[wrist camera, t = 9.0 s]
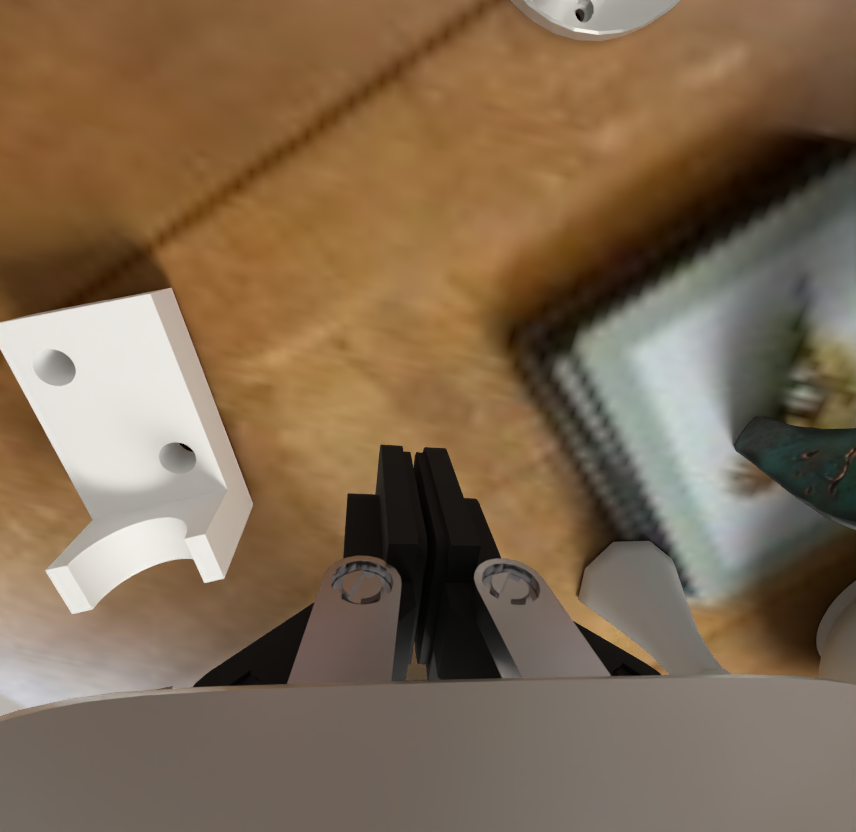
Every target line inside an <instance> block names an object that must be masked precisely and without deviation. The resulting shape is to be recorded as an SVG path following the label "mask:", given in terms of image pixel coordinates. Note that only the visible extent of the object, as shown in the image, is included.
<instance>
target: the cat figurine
mask: <svg viewBox="0 0 856 832" xmlns="http://www.w3.org/2000/svg"><path fill="white" fill-rule="evenodd" d="M735 450H736V451H737V452H738V453H740V454H741V455H743V456H744V457H745V458H747V459H748V460H749V461H751V462H752V463H753V464H754V465H756V466H757V467H758V468H759V469H760V470H762V471H763V472H764V473H766V474H767V475H768V476H770V477H771V478H772V479H773V480H775V481H776V482H777V483H778V484H780V485H781V486H782V487H783V488H784V489H786V490H787V491H788V492H790V493H791V494H792V495H794V496H795V497H797V498H798V499H799V500H801V501H802V502H804V503H805V504H807V505H808V506H810V507H812V508H813V509H814V510H816V511H817V512H818V513H820V514H821V515H823V516H824V517H826V518H828V519H830V520H832V521H834V522H836V523H838V524H841V525H843V526H845V527H848V528H851V529H854V530H856V428H853V429H818V428H807V427H799V426H792V425H789V424H786V423H783V422H780V421H778V420H775V419H772V418H768V417H756V418H755V419H754V420H753V421H752V422H750V423H749V424H748V425H747V426H746V427H745V429H744V430H743V432H742V434H741V435H740V437H739V439H738V441H737V443H736V445H735Z"/></svg>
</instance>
